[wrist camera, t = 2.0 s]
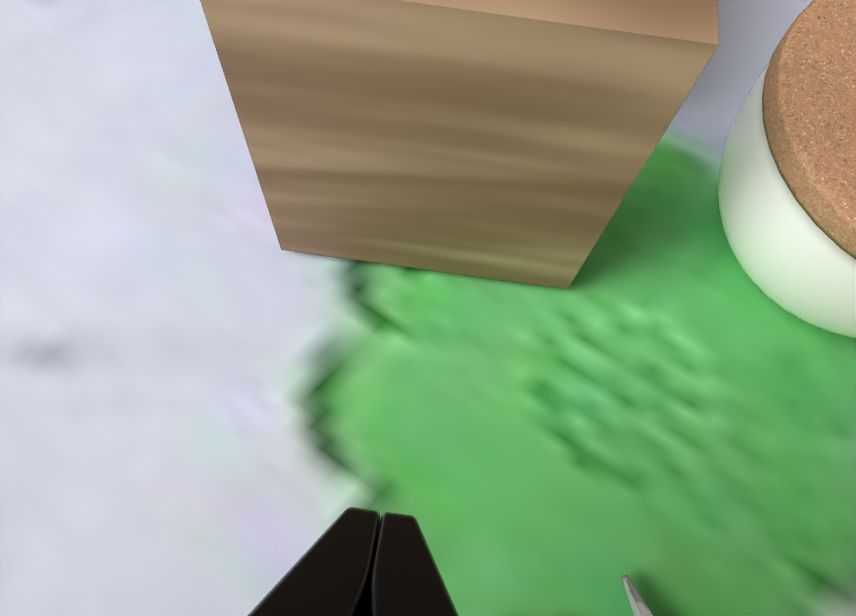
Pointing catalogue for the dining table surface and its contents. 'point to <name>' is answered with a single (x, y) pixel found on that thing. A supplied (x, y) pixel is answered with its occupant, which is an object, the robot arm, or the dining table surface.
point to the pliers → (635, 598)
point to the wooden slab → (456, 122)
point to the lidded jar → (799, 171)
